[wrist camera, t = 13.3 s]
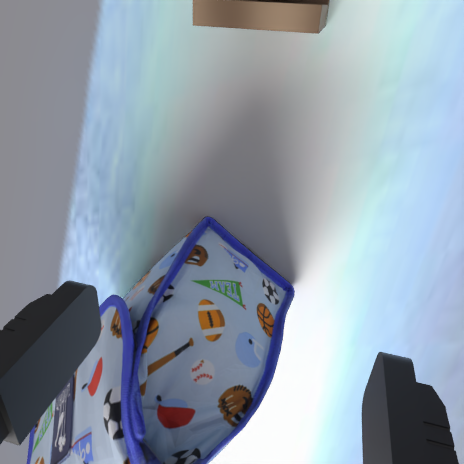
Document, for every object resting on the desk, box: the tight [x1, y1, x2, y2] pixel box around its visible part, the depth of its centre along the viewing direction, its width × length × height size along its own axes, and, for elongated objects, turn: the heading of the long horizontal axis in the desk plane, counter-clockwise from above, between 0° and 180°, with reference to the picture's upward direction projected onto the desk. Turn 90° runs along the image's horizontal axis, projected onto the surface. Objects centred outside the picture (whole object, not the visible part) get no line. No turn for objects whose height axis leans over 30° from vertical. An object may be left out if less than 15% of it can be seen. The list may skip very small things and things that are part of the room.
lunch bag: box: [27, 217, 295, 464], centre depth 39 cm, size 23×17×27 cm
